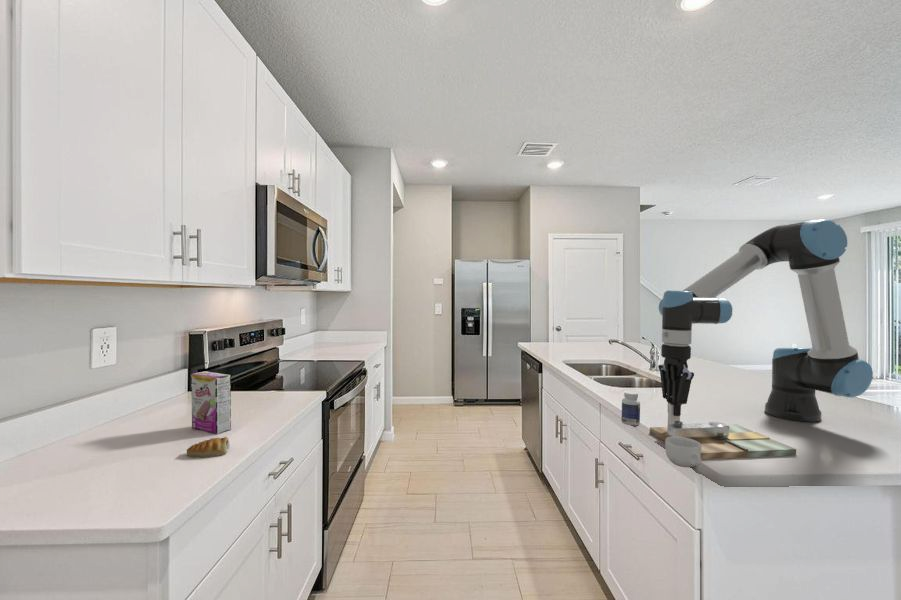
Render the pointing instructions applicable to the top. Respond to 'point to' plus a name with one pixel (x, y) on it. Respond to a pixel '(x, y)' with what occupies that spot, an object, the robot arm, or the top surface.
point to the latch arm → (698, 429)
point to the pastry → (209, 448)
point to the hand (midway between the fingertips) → (673, 425)
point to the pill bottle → (630, 409)
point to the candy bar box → (211, 402)
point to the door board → (734, 444)
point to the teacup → (683, 451)
